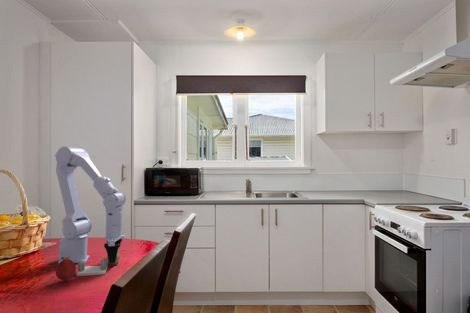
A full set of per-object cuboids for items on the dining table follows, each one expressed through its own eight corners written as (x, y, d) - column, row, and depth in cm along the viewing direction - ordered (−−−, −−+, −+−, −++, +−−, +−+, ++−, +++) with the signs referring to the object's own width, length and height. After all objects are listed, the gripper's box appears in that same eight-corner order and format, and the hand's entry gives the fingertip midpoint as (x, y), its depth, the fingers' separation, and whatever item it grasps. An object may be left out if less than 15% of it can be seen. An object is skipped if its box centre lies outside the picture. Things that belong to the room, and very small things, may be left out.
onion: (61, 286, 98) (62, 260, 98) (51, 282, 101) (52, 257, 101) (79, 280, 103) (79, 256, 103) (69, 276, 106) (69, 252, 106)
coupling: (105, 266, 117) (106, 250, 117) (107, 262, 121) (107, 246, 121) (118, 265, 118) (119, 249, 118) (119, 261, 122) (120, 246, 123)
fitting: (76, 276, 107) (76, 263, 107) (80, 269, 114) (81, 256, 114) (104, 274, 109) (105, 261, 109) (107, 267, 116) (107, 255, 116)
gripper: (123, 228, 114) (122, 265, 114) (126, 220, 128) (125, 253, 128) (102, 228, 112) (101, 267, 112) (107, 220, 126) (106, 254, 126)
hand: (113, 260), depth 120 cm, fingers closed on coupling, 5 cm apart
